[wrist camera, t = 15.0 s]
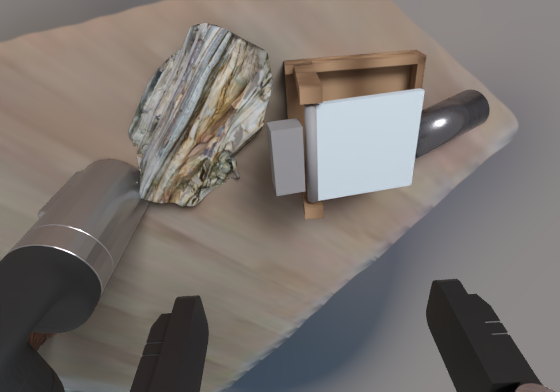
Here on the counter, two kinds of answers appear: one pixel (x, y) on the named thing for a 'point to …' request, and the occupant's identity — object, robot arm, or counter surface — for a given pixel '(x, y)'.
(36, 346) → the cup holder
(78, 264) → the robot arm
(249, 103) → the rock
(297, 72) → the stand
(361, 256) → the counter surface
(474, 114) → the cylinder
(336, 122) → the trapdoor
